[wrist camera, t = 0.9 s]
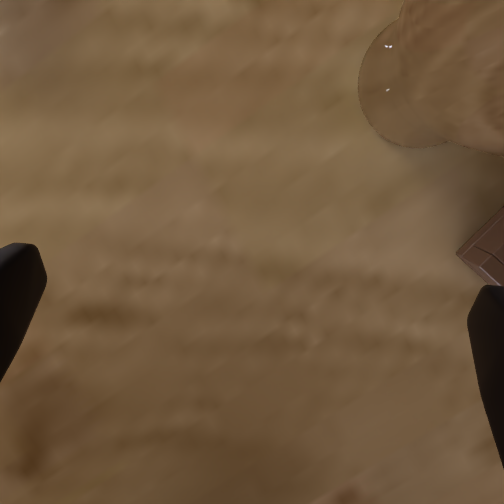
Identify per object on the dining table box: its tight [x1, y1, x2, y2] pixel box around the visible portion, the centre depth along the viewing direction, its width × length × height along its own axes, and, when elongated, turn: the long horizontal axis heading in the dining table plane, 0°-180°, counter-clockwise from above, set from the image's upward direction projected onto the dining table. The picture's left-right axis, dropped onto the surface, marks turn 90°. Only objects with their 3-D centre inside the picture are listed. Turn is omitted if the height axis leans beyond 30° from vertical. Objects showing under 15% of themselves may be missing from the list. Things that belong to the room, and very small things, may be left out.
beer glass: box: [358, 0, 504, 157], centre depth 13 cm, size 7×7×15 cm
